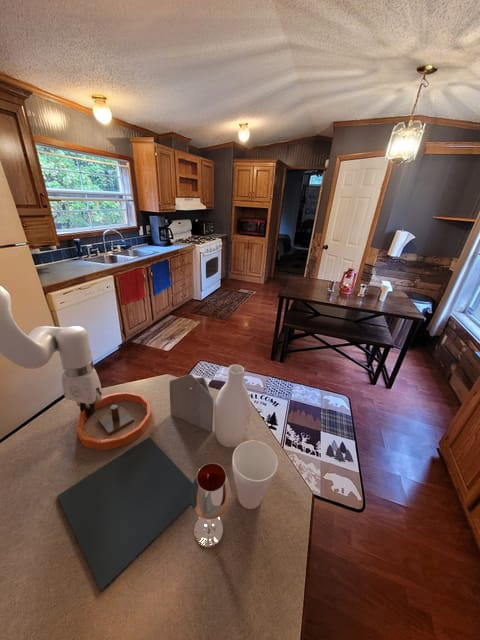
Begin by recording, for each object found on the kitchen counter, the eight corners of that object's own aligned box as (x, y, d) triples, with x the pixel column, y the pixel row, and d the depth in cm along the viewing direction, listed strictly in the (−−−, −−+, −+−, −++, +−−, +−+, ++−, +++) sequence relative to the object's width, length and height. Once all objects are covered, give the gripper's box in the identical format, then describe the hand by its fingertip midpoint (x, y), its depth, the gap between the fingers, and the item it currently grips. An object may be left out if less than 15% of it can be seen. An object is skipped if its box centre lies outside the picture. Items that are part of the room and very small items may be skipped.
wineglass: (231, 516, 59) (237, 463, 52) (220, 559, 52) (225, 504, 44) (198, 505, 60) (199, 453, 53) (183, 545, 53) (182, 490, 46)
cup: (253, 530, 57) (259, 492, 51) (220, 497, 63) (222, 459, 57) (278, 495, 64) (286, 458, 59) (246, 468, 70) (251, 432, 65)
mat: (57, 497, 60) (56, 495, 60) (149, 437, 77) (149, 436, 77) (101, 592, 46) (100, 591, 46) (201, 494, 63) (201, 493, 63)
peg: (98, 421, 81) (95, 406, 79) (122, 408, 87) (120, 394, 84) (109, 435, 76) (106, 420, 74) (134, 421, 82) (132, 407, 80)
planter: (223, 416, 87) (226, 369, 79) (211, 432, 80) (213, 383, 73) (184, 400, 93) (183, 355, 85) (170, 414, 86) (167, 366, 78)
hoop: (67, 420, 80) (65, 413, 79) (131, 390, 95) (130, 384, 94) (95, 463, 68) (93, 456, 67) (163, 421, 83) (162, 414, 82)
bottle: (229, 417, 87) (234, 353, 77) (255, 435, 81) (264, 369, 70) (205, 436, 79) (207, 368, 69) (231, 458, 73) (238, 387, 62)
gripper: (45, 369, 73) (58, 417, 81) (92, 379, 71) (101, 427, 78) (66, 356, 80) (76, 401, 87) (110, 364, 78) (117, 410, 85)
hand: (88, 413), depth 83 cm, fingers closed on hoop, 1 cm apart
